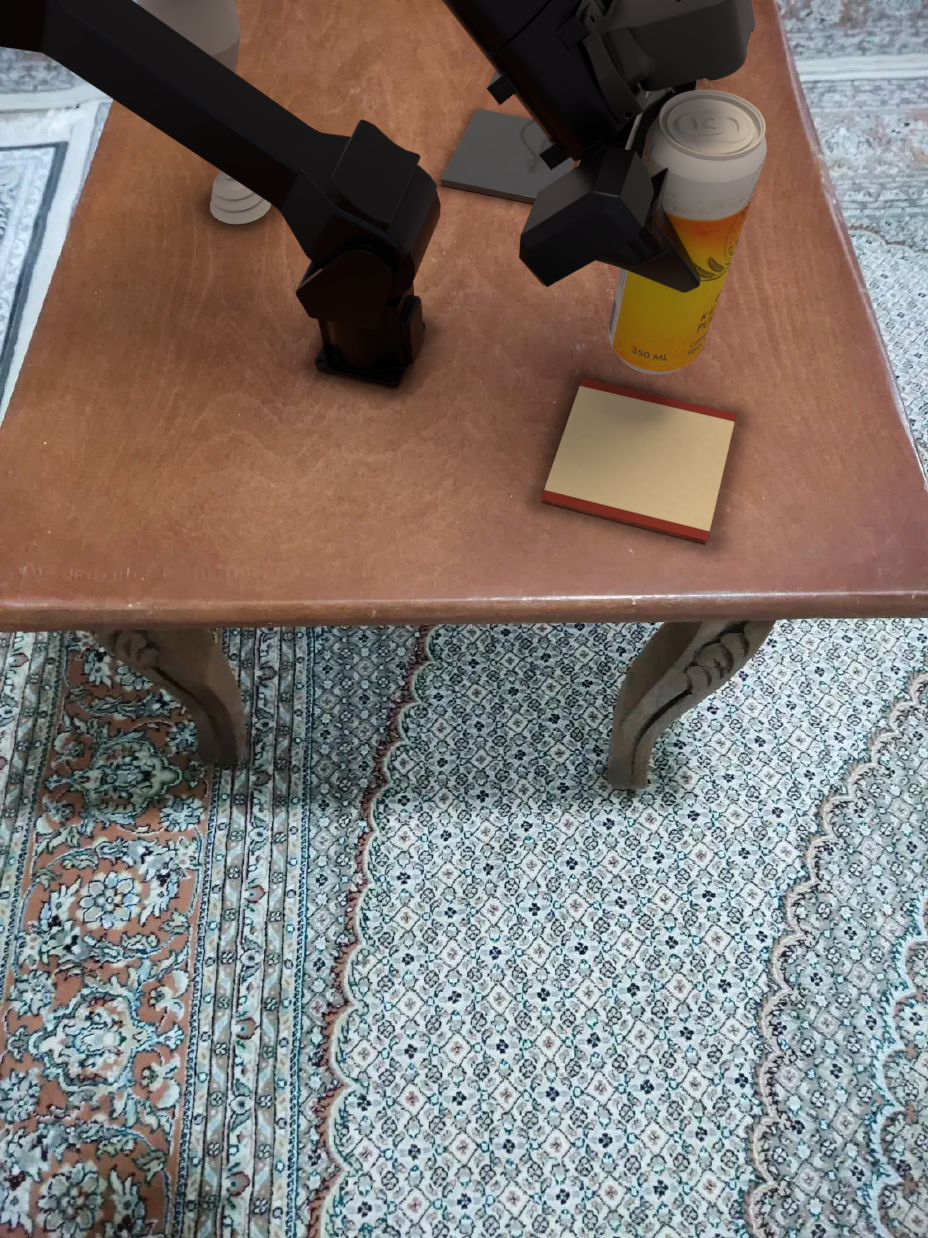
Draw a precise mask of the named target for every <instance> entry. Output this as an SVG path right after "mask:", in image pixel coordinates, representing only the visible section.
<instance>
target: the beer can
mask: <svg viewBox="0 0 928 1238" xmlns="http://www.w3.org/2000/svg"><path fill="white" fill-rule="evenodd" d="M766 128H767V126H766V121H765V118H764V116H763V114H762V113H761V111H760V110H759V109H758V108H757V107H756V106H755V105H754V104H752V103H751V102H750V101H748V100H747V99H745V98H743V97H740V96H738V95H736V94H734V93H730V92H727V91H722V90H715V89H697V90H693V91H688V92H684V93H681V94H678V95H676V96H674V97H672V98H671V99H669V100H668V101H667V102H666V103H665V104H664V105H663V106H662V108H661V110H660V112H659V115H658V116H657V118H656V119H655V120H654V122H653V123H652V124H651V126H650V127H649V129H648V132H647V136H646V141H645V146H644V151H643V156H642V161H643V163H644V164H645V165H646V167H647V168H648V171H649V174H650V177H652V176H654V175H655V174H657V173H658V172H660V171H662V170H663V169H665V168H667V167H668V169H669V174H668V178H667V183H666V187H665V192H664V196H663V201H662V206H663V209H664V211H665V212H666V214H667V216H668V218H669V220H670V221H671V223H672V225H673V227H674V229H675V230H676V232H677V234H678V236H679V238H680V239H681V241H682V243H683V245H684V247H685V248H686V250H687V252H688V254H689V256H690V257H691V259H692V261H693V263H694V266H695V268H696V270H697V272H698V274H699V276H700V279H701V282H700V286H699V287H697V288H695V289H693V290H691V291H689V292H687V293H682V292H680V291H677V290H675V289H672V288H670V287H667V286H665V285H662V284H660V283H657V282H655V281H652V280H650V279H647V278H645V277H642V276H640V275H637V274H635V273H632V272H630V271H627V270H624V269H622V268H619V273H618V277H617V282H616V287H615V293H614V297H613V302H612V303H613V304H612V307H611V312H610V313H611V314H610V317H609V323H608V328H607V338H608V341H609V344H610V346H611V348H612V349H613V351H614V352H615V353H616V355H617V356H618V358H619V359H620V360H621V361H622V362H623V363H624V364H625V365H626V366H627V367H629V368H631V369H633V370H635V371H637V372H640V373H643V374H647V375H667V374H671V373H674V372H677V371H678V370H680V369H683V368H686V367H687V366H688V365H690V364H692V363H694V362H695V360H696V359H697V358H698V357H699V356H700V354H701V353H702V350H703V348H704V345H705V341H706V338H707V336H708V332H709V329H710V327H711V323H712V321H713V318H714V314H715V312H716V310H717V309H716V308H717V306H718V303H719V299H720V296H721V293H722V290H723V287H724V284H725V281H726V278H727V275H728V273H729V269H730V267H731V263H732V260H733V257H734V254H735V251H736V247H737V245H738V242H739V240H740V236H741V233H742V230H743V227H744V224H745V220H746V219H747V215H748V212H749V209H750V206H751V203H752V200H753V197H754V194H755V191H756V187H757V185H758V181H759V179H760V175H761V173H762V170H763V168H764V167H763V166H764V163H765V160H766V157H767V153H768V146H767V139H766Z"/></svg>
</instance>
